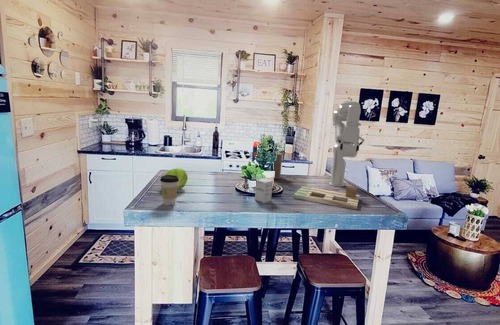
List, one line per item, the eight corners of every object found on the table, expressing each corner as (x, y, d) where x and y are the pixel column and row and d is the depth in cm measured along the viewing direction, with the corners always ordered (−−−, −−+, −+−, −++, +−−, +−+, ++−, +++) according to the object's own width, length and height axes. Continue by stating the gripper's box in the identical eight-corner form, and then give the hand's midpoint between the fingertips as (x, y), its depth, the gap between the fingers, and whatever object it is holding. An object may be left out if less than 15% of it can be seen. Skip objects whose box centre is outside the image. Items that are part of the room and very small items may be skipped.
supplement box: (254, 200, 181) (255, 179, 179) (261, 197, 187) (263, 178, 184) (263, 203, 177) (265, 182, 174) (271, 200, 182) (273, 180, 180)
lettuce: (161, 194, 179) (162, 172, 177) (163, 185, 199) (163, 165, 196) (188, 194, 183) (188, 172, 181) (186, 185, 202) (187, 165, 200)
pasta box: (251, 176, 239) (254, 141, 234) (261, 177, 239) (264, 142, 234) (250, 185, 212) (253, 146, 206) (261, 186, 212) (264, 147, 206)
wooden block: (279, 179, 235) (281, 154, 232) (266, 178, 237) (268, 153, 233) (280, 176, 245) (282, 152, 241) (268, 175, 247) (270, 151, 243)
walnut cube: (346, 194, 198) (347, 185, 197) (355, 195, 196) (357, 187, 195) (345, 196, 193) (346, 187, 192) (355, 198, 191) (356, 189, 190)
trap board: (302, 189, 213) (302, 185, 212) (358, 198, 199) (359, 195, 198) (293, 198, 191) (294, 194, 190) (356, 209, 177) (357, 205, 176)
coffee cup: (163, 199, 170) (163, 174, 167) (180, 201, 170) (181, 175, 167) (157, 205, 160) (157, 178, 158) (175, 207, 160) (176, 179, 157)
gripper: (366, 125, 195) (363, 152, 197) (339, 123, 202) (336, 149, 204) (366, 125, 188) (362, 152, 191) (337, 123, 195) (334, 149, 198)
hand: (349, 150), depth 198 cm, fingers open, 9 cm apart
